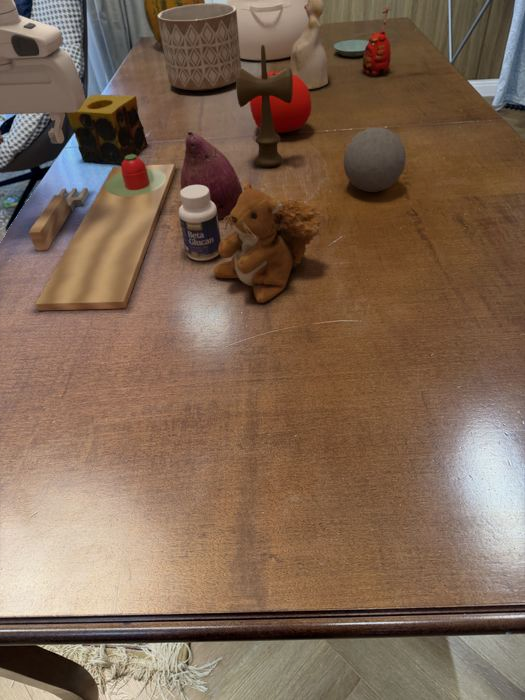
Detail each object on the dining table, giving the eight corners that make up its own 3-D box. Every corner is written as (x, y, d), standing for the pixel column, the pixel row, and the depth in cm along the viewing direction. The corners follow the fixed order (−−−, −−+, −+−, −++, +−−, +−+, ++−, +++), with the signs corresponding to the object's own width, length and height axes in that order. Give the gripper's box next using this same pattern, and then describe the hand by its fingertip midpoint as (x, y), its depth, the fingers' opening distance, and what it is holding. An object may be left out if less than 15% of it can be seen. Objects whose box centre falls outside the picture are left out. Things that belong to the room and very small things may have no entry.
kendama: (245, 157, 99) (235, 41, 85) (294, 156, 98) (292, 38, 84) (242, 171, 95) (231, 51, 81) (293, 169, 94) (291, 47, 80)
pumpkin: (141, 53, 161) (121, -45, 144) (171, 38, 174) (156, -54, 156) (191, 56, 155) (177, -46, 138) (219, 40, 168) (209, -56, 150)
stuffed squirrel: (208, 277, 71) (194, 189, 62) (286, 240, 76) (283, 155, 67) (250, 311, 65) (241, 220, 56) (331, 269, 70) (335, 179, 61)
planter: (255, 76, 137) (250, 4, 125) (218, 99, 125) (209, 22, 113) (195, 71, 144) (186, 2, 132) (155, 92, 132) (141, 18, 120)
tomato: (295, 115, 114) (294, 59, 106) (319, 137, 104) (320, 76, 96) (243, 125, 111) (238, 68, 103) (263, 148, 102) (259, 86, 94)
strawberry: (122, 190, 89) (114, 162, 86) (128, 179, 92) (121, 151, 89) (146, 189, 89) (139, 161, 85) (152, 178, 92) (145, 150, 88)
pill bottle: (189, 265, 73) (178, 203, 66) (183, 246, 77) (171, 186, 70) (225, 257, 74) (217, 195, 67) (217, 239, 78) (209, 179, 71)
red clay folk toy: (356, 71, 134) (361, 4, 124) (379, 66, 136) (385, 0, 126) (372, 78, 129) (377, 9, 119) (395, 73, 131) (403, 5, 121)
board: (38, 310, 68) (35, 303, 67) (114, 172, 98) (113, 166, 97) (125, 308, 67) (123, 301, 66) (175, 169, 97) (174, 163, 96)
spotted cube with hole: (148, 145, 106) (137, 95, 99) (125, 166, 100) (112, 113, 93) (106, 142, 109) (93, 93, 102) (81, 162, 102) (65, 110, 95)
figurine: (286, 78, 134) (284, -14, 120) (325, 75, 134) (327, -17, 120) (289, 92, 125) (287, -5, 112) (331, 89, 125) (334, -8, 111)
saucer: (381, 56, 143) (381, 47, 142) (342, 61, 142) (342, 52, 140) (364, 46, 152) (364, 37, 150) (327, 51, 150) (327, 43, 148)
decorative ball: (413, 191, 85) (423, 131, 78) (366, 208, 82) (371, 147, 75) (376, 170, 91) (381, 113, 84) (330, 185, 88) (332, 127, 81)
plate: (99, 204, 89) (97, 197, 88) (114, 175, 97) (113, 169, 96) (162, 201, 88) (160, 195, 87) (172, 173, 96) (171, 167, 95)
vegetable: (210, 243, 83) (183, 169, 70) (175, 213, 88) (144, 140, 75) (258, 207, 85) (240, 130, 73) (222, 181, 90) (199, 104, 78)
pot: (228, 42, 165) (222, -19, 153) (309, 37, 164) (309, -26, 152) (222, 68, 144) (215, -1, 133) (315, 61, 143) (315, -8, 132)
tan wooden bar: (57, 249, 78) (50, 231, 76) (26, 250, 79) (18, 232, 77) (90, 193, 92) (84, 176, 90) (63, 194, 92) (57, 178, 90)
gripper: (-99, 46, 65) (-49, 153, 74) (56, 41, 64) (87, 149, 73) (-74, 34, 69) (-30, 136, 79) (71, 29, 68) (98, 133, 78)
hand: (27, 143), depth 76 cm, fingers open, 8 cm apart
